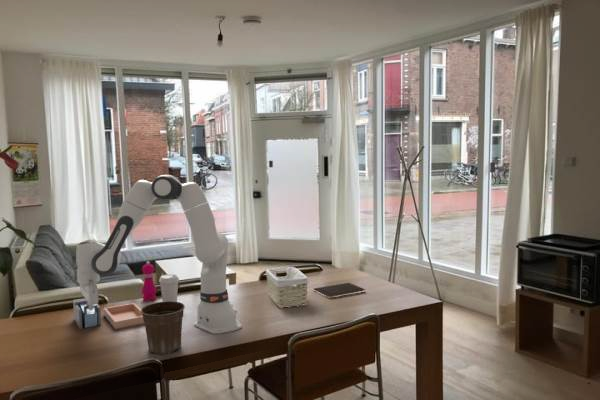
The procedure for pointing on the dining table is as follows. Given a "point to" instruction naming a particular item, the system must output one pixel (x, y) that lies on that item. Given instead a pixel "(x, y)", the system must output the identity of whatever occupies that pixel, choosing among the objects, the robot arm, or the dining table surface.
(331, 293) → the hardcover book
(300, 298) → the storage basket
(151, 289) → the pepper mill
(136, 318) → the tray
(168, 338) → the plant pot
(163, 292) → the coffee cup
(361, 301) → the dining table surface
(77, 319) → the bay
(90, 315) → the small pale blue carton
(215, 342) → the dining table surface
